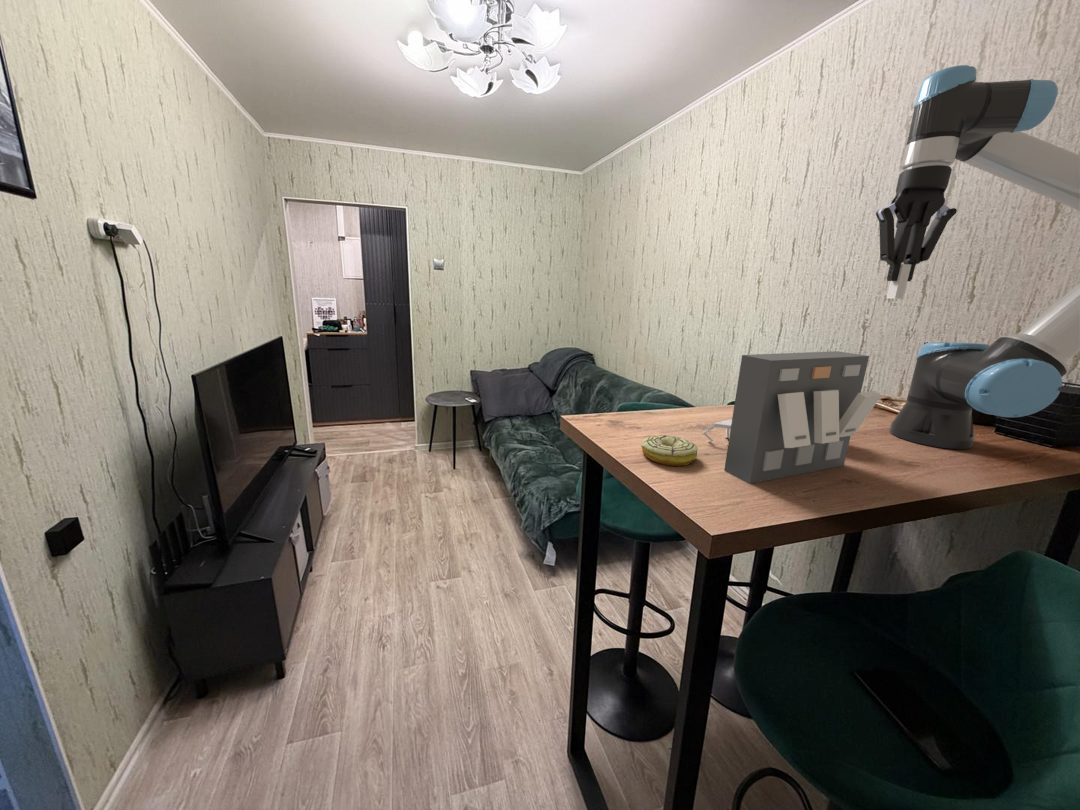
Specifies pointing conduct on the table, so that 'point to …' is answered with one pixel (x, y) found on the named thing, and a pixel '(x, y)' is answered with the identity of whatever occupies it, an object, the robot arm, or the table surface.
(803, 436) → the rocker
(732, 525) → the table surface
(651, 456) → the decorated donut
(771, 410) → the power box
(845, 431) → the bar
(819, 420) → the middle rocker
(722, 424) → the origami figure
